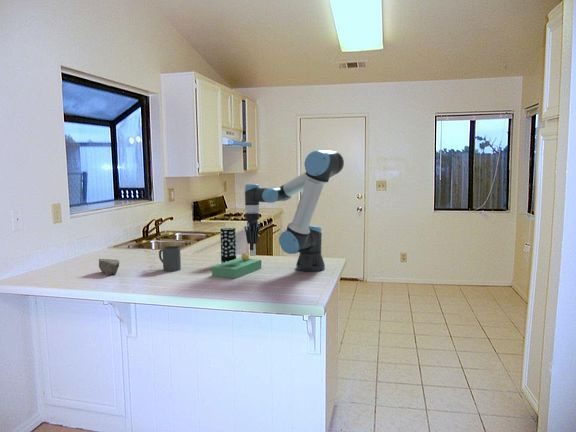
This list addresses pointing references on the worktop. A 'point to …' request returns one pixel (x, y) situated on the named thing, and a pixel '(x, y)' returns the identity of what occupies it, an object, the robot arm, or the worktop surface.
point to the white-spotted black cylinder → (228, 244)
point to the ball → (245, 256)
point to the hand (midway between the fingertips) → (252, 255)
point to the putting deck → (236, 268)
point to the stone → (109, 266)
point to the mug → (171, 258)
